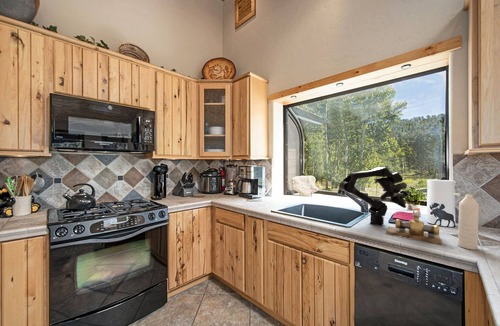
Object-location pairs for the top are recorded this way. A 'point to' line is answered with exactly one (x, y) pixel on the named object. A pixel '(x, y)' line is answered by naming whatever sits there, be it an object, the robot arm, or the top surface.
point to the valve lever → (417, 212)
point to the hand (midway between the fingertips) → (405, 207)
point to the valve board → (423, 238)
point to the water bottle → (468, 222)
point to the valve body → (417, 227)
